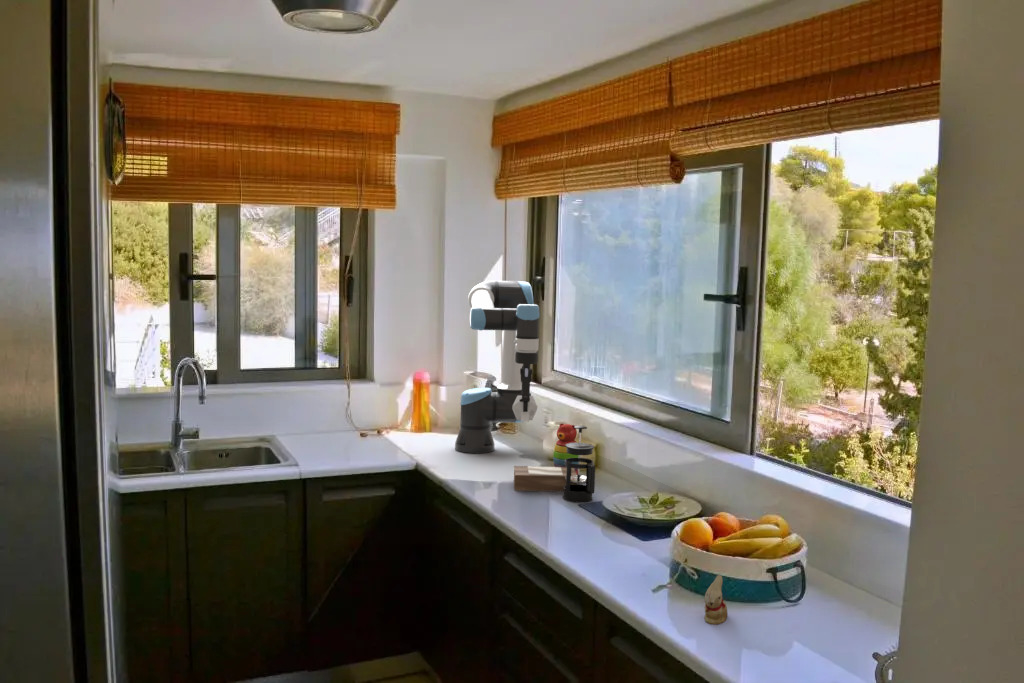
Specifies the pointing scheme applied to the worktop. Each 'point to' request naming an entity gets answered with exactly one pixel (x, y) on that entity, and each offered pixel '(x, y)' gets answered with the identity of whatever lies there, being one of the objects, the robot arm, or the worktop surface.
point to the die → (517, 408)
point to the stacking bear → (560, 451)
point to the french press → (577, 490)
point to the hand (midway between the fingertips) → (524, 418)
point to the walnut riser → (540, 478)
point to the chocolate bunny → (715, 603)
